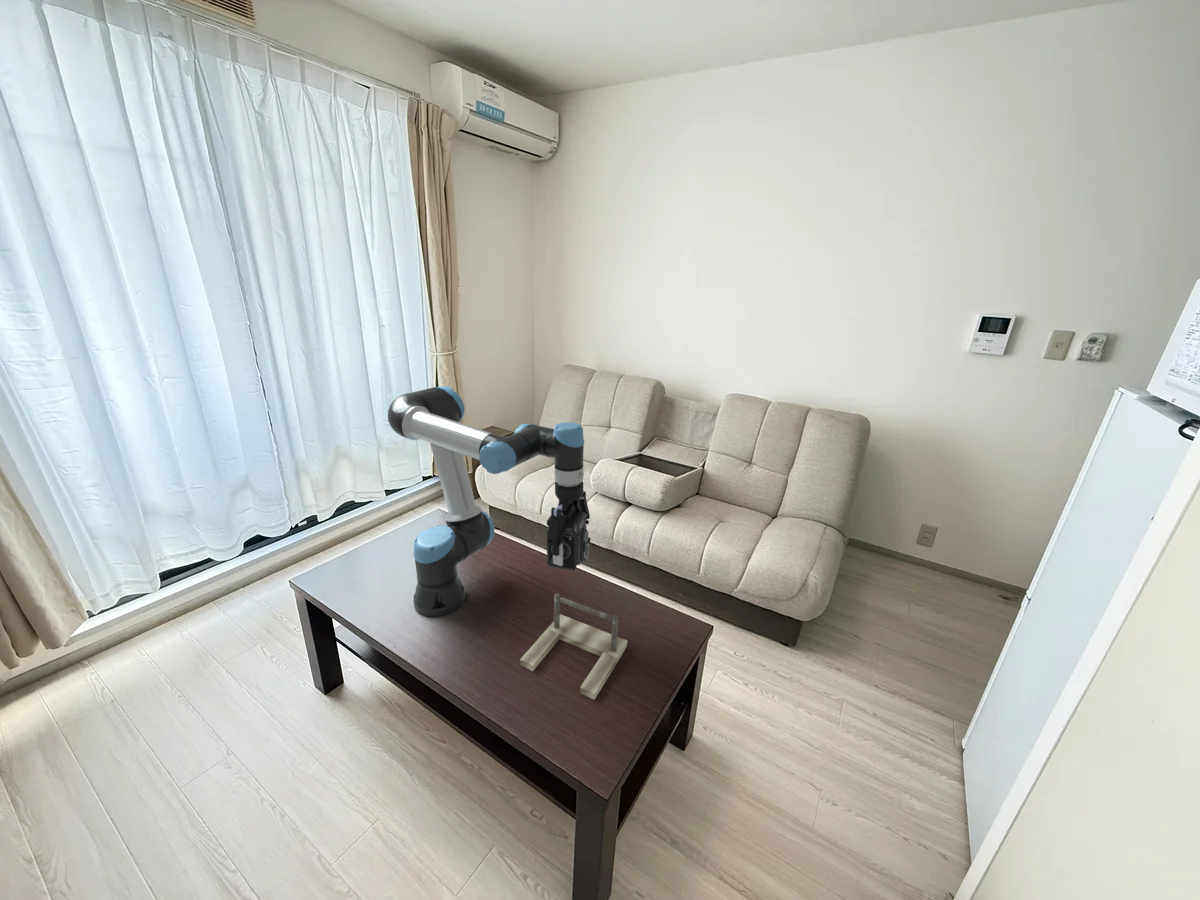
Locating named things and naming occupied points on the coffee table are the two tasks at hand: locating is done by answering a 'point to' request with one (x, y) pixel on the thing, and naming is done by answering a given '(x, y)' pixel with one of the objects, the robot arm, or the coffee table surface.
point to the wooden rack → (580, 644)
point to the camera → (572, 542)
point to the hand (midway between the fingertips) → (569, 553)
